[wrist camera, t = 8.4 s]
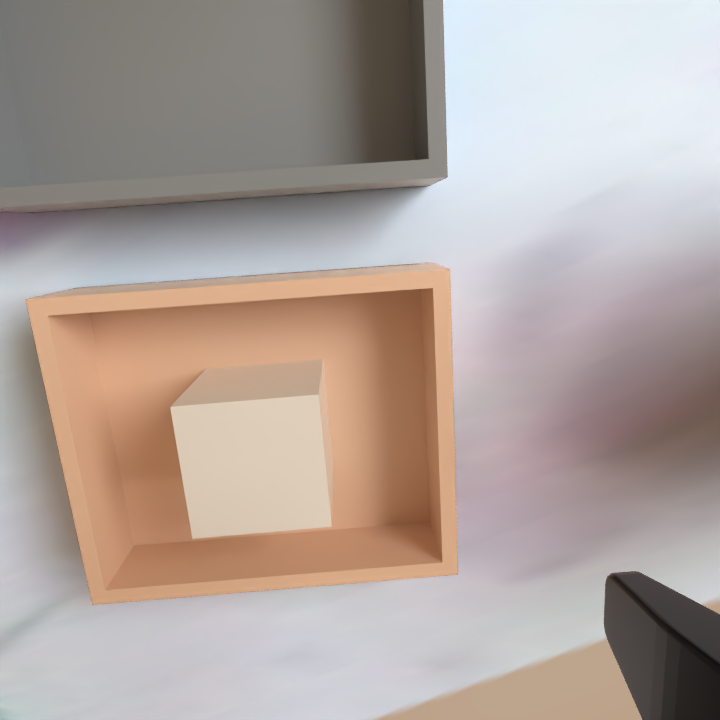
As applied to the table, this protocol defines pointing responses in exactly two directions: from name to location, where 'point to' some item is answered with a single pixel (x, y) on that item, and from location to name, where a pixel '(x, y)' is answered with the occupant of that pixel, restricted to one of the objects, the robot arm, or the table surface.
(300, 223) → the table surface
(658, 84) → the table surface
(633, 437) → the table surface
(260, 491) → the beige cube
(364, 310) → the bin
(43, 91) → the bin
